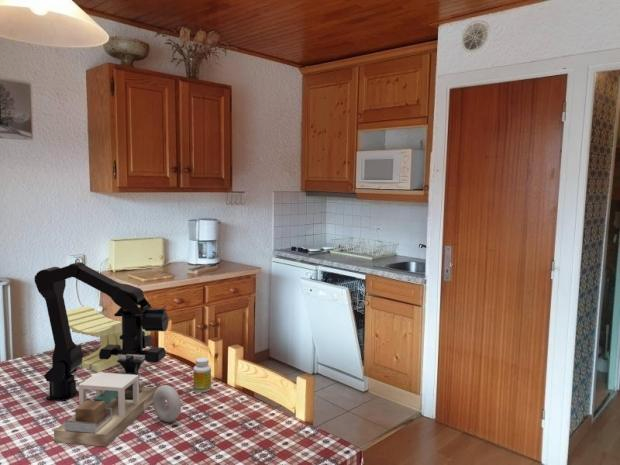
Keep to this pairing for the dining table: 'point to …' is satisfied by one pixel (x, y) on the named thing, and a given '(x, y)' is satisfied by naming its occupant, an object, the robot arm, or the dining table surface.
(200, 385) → the supplement bottle
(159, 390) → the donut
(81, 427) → the carriage
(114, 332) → the slatted curved stool
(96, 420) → the block
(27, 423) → the dining table surface
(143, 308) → the robot arm
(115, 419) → the deck
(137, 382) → the tunnel
